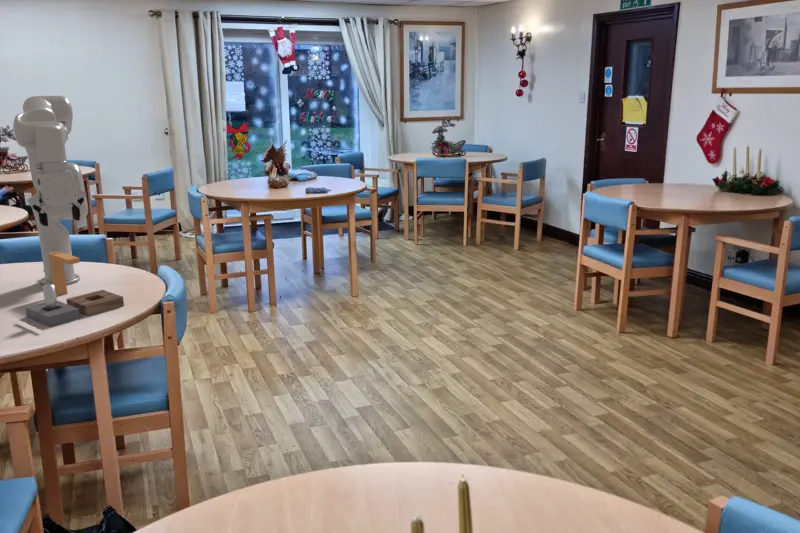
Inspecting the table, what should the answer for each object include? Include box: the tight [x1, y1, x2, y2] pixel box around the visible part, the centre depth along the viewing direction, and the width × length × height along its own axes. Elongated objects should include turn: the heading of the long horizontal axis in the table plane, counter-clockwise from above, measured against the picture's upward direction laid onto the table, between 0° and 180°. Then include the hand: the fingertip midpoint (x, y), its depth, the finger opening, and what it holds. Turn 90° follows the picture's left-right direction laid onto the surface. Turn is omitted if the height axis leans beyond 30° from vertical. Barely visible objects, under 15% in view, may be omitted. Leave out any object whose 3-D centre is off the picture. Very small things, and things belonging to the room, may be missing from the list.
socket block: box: [66, 289, 125, 317], centre depth 214 cm, size 12×12×4 cm
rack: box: [25, 300, 81, 328], centre depth 205 cm, size 14×9×4 cm, turn 53°
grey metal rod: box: [42, 284, 58, 312], centre depth 204 cm, size 3×3×10 cm
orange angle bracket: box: [48, 252, 81, 298], centre depth 222 cm, size 14×4×15 cm, turn 53°
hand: (60, 222), depth 208 cm, fingers open, 9 cm apart
